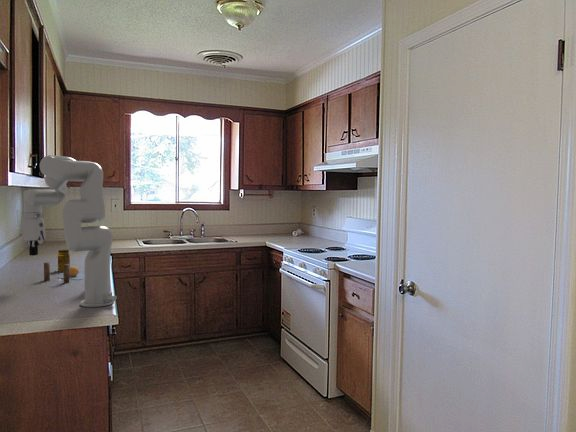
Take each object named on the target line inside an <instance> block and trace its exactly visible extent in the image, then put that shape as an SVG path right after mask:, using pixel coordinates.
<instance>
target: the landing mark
mask: <svg viewBox="0 0 576 432" xmlns="http://www.w3.org/2000/svg"><path fill="white" fill-rule="evenodd" d="M56 278H57V279H63V275H62V276H59V277H56ZM69 280H74V281H81V280H85V277H84V273H78V275H77V276H75V277H71V276H69Z"/></svg>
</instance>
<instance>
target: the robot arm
mask: <svg viewBox="0 0 576 432" xmlns="http://www.w3.org/2000/svg"><path fill="white" fill-rule="evenodd" d="M39 169H40V172H41V174H42V175H44V181H45V184H46V185H47V186H48V187H49V188H51V189H49V188H48V189H47V188H46V189H37V188H35V189H26V190H25V189H24V191H23V195H22V196H23V197H22V198H23V220H22V226H21V227H22V229H21V231H22V232H21V236H22V237H21V238H22V239H23V242H24V243H27V247H28V248H29V249H28V250H29V251H28V252H29V254H28V255H29V256H38V255H39V251H38V250H39V246H40V245H41V244H43V243H44V240H46V237H47V236H46V235H47V234H46V225H45V221H44V218H43V217H44V216H43V207H44V206H45V207H47V206H51V207H52V206H57V205H60V204H61V203H62V202H63V201H64V200H65V199H66V198H67V195H68V186H67V184H68V182H82V184H80V187H79V195H80V199H79V198H77V199H69V200H67V201H66V202H65V203H64V205H63V207H62V222H63V232H64V239H65V244H66V247H67V249H68V250H69V251H71V252H76V253H77V252H86V251H88V252H87V254H86V256H85V258H84V266H83V271H84V273H83V274H84V277H85V279H84V299H82V300H81V301H80V303H79V305H80V306H81V307H86V308H100V307H106V306H109V305H112V304H114V303H115V302H116V300H117V299H118V296H117V295H113V292H112V291H111V249H112V245H113V235H114V234H113V232H112V231H111V229H110V228H109V227H107V226H104V225H89V226H82V224H94V223H96V224H97V223H100V222H102V221H104V220H105V218H106V207H105V198H104V191H103V186H104V185H103V184H104V170H103V168H102V167H101V165H100V164H98V163H97V162H94V161H87V160H76V159H74V158H72V157H69V156H66V155H64V156H63V155H53V154H50V155H46V156H45V155H44V157H42V159H41V160H40V162H39Z"/></svg>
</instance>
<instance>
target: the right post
mask: <svg viewBox="0 0 576 432" xmlns="http://www.w3.org/2000/svg"><path fill="white" fill-rule="evenodd" d="M62 273H63V275H62V276H63V278H62V280H63V283H64V284H69V283H70V279H69V264H64V265H63V272H62Z"/></svg>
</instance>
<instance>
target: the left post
mask: <svg viewBox="0 0 576 432" xmlns="http://www.w3.org/2000/svg"><path fill="white" fill-rule="evenodd" d="M50 267H51V264H50V262H48V261H47V262H43V282H50V281H51V277H50V276H51V275H50V273H51V271H50V270H51V268H50Z"/></svg>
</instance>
